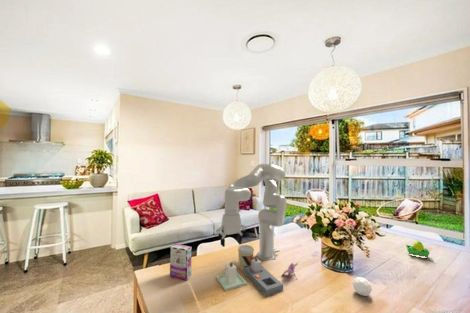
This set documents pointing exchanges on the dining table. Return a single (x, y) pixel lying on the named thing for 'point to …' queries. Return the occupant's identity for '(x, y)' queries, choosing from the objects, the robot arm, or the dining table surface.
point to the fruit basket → (418, 249)
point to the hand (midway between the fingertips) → (231, 244)
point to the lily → (291, 269)
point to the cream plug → (231, 273)
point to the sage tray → (227, 286)
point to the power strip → (264, 281)
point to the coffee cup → (245, 256)
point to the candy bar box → (180, 261)
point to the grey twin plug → (256, 265)
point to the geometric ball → (362, 286)
